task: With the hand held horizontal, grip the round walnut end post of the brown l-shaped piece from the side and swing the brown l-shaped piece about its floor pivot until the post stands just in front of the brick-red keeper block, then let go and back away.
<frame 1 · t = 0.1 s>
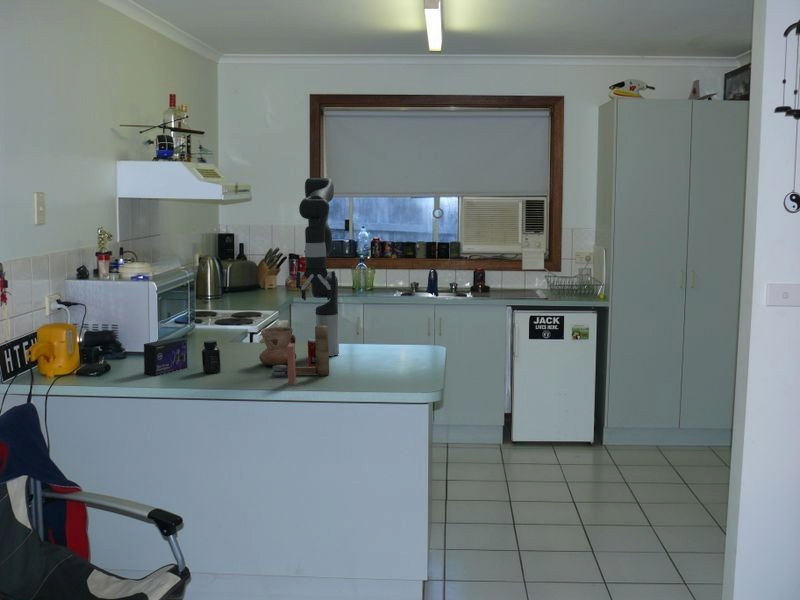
hand: (316, 299, 322), 29 cm above the countertop, tool pointing down, fingers open, 8 cm apart
pivot disc: (279, 375, 332), on the countertop
keeper block: (292, 383, 320), on the countertop
ceramic jug: (279, 364, 353), on the countertop
brown l-shaped piece: (300, 350, 331), point 9 cm above the countertop, hinge at 0.0°
canned food: (318, 367, 347), on the countertop
box: (166, 372, 343), on the countertop
supplement bottle: (211, 372, 340), on the countertop
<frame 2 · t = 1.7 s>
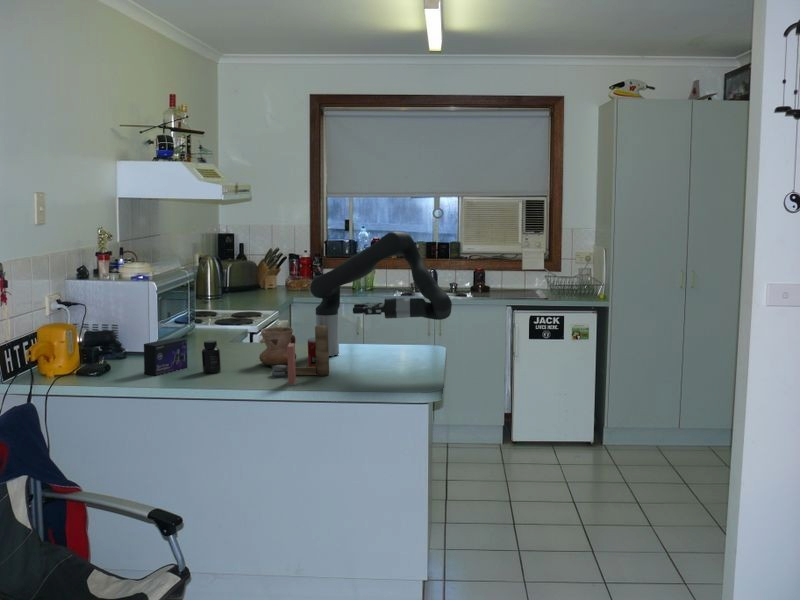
hand: (353, 308, 329), 25 cm above the countertop, tool horizontal, fingers open, 8 cm apart
nothing on the countertop moved.
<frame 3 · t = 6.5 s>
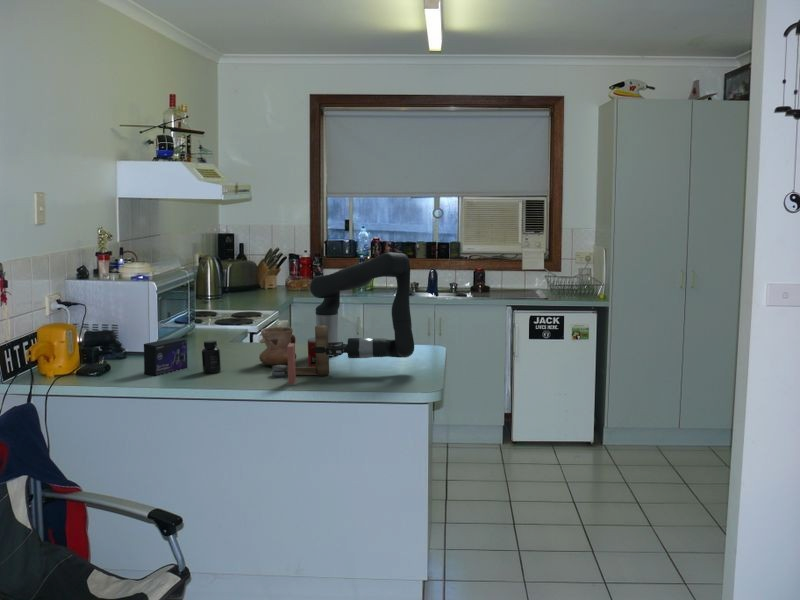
hand: (315, 348, 331), 10 cm above the countertop, tool horizontal, fingers closed on brown l-shaped piece, 5 cm apart
brown l-shaped piece: (300, 350, 331), point 9 cm above the countertop, hinge at 0.0°, touching gripper
everything else where it was.
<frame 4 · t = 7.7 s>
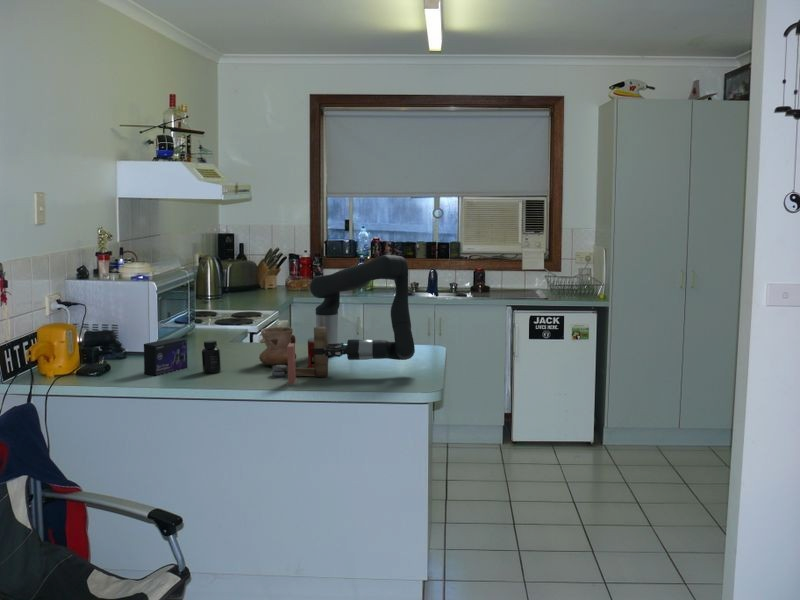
hand: (314, 350, 329), 10 cm above the countertop, tool horizontal, fingers closed on brown l-shaped piece, 5 cm apart
brown l-shaped piece: (299, 351, 330), point 9 cm above the countertop, hinge at 9.3°, touching gripper
everything else where it was.
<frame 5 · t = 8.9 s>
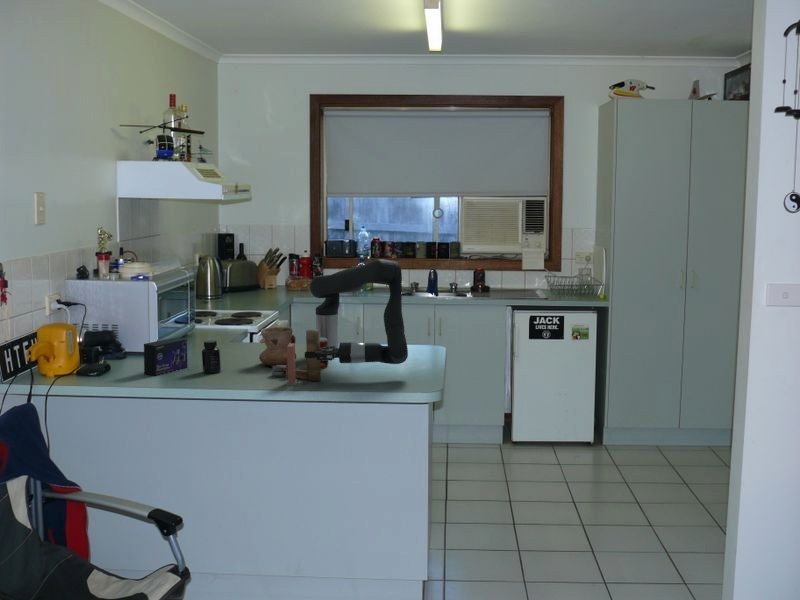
hand: (305, 353, 323), 10 cm above the countertop, tool horizontal, fingers closed on brown l-shaped piece, 5 cm apart
brown l-shaped piece: (295, 353, 327), point 9 cm above the countertop, hinge at 32.2°, touching gripper
everything else where it was.
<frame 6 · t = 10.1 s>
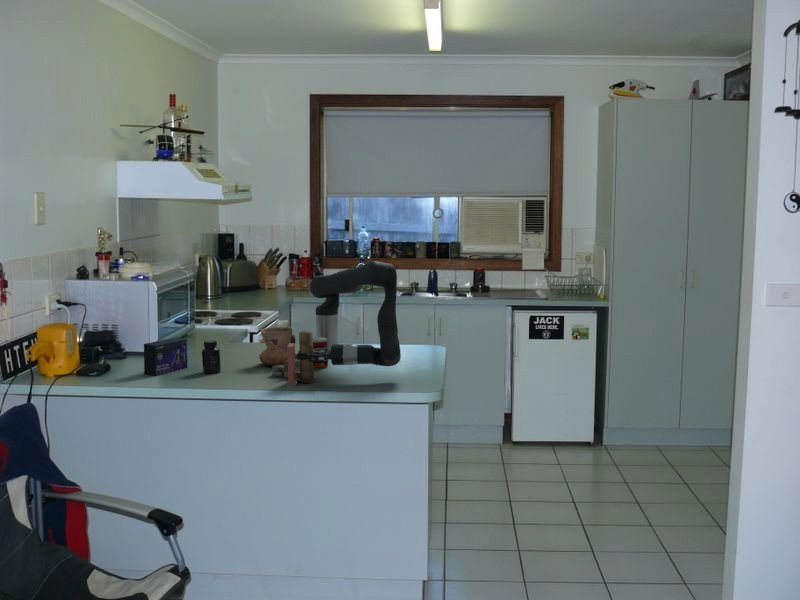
hand: (297, 355, 320), 10 cm above the countertop, tool horizontal, fingers closed on brown l-shaped piece, 4 cm apart
brown l-shaped piece: (292, 353, 326), point 9 cm above the countertop, hinge at 45.1°, touching gripper
everything else where it was.
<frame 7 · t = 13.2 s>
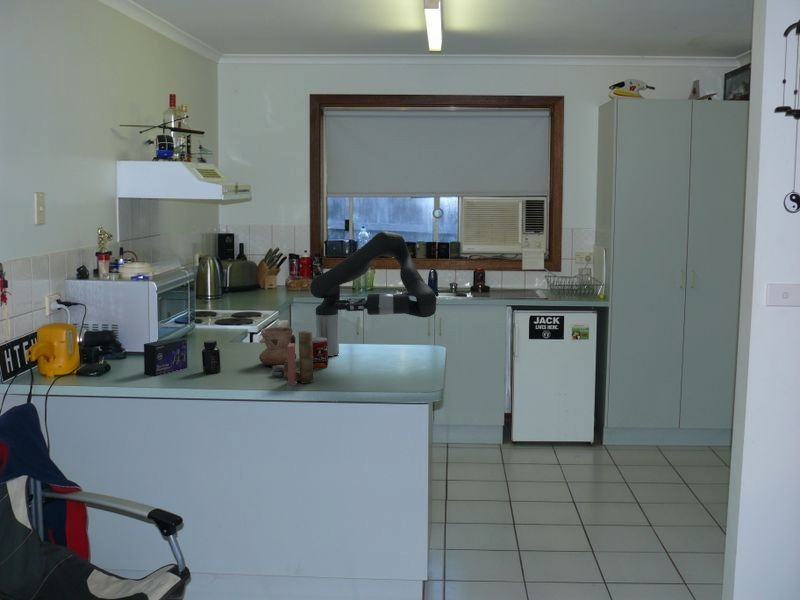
hand: (335, 304, 320), 28 cm above the countertop, tool horizontal, fingers open, 8 cm apart
brown l-shaped piece: (292, 353, 326), point 9 cm above the countertop, hinge at 45.7°
everything else where it was.
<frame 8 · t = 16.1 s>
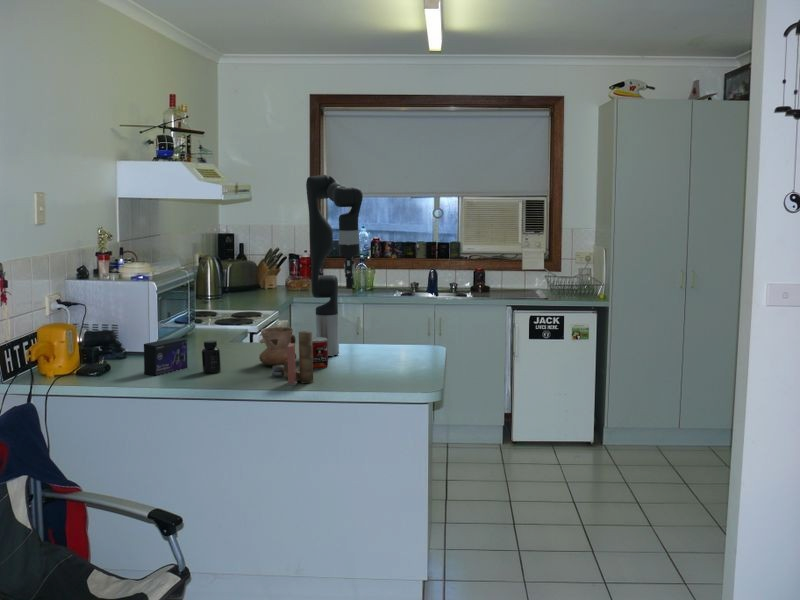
hand: (350, 287, 326), 33 cm above the countertop, tool pointing down, fingers open, 8 cm apart
nothing on the countertop moved.
at the end: brown l-shaped piece at +46° (first picture: +0°); the gripper is holding nothing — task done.
